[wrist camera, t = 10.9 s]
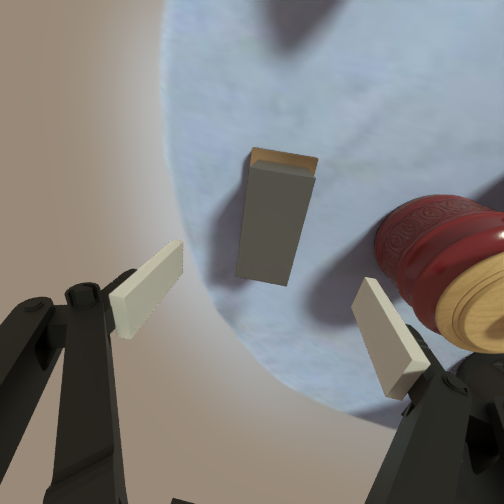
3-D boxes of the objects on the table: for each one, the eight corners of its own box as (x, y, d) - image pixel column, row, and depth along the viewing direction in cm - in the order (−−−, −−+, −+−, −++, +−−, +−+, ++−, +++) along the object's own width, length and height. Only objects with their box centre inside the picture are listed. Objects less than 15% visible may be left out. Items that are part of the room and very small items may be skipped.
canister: (495, 191, 27) (776, 263, 12) (455, 280, 33) (606, 405, 18) (383, 191, 29) (498, 254, 13) (363, 275, 35) (427, 387, 19)
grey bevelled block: (286, 254, 32) (286, 286, 25) (245, 246, 33) (235, 276, 26) (307, 167, 27) (315, 178, 20) (258, 159, 27) (249, 167, 20)
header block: (291, 253, 35) (292, 276, 29) (240, 244, 35) (232, 265, 29) (316, 157, 28) (324, 162, 22) (254, 147, 28) (246, 149, 23)
